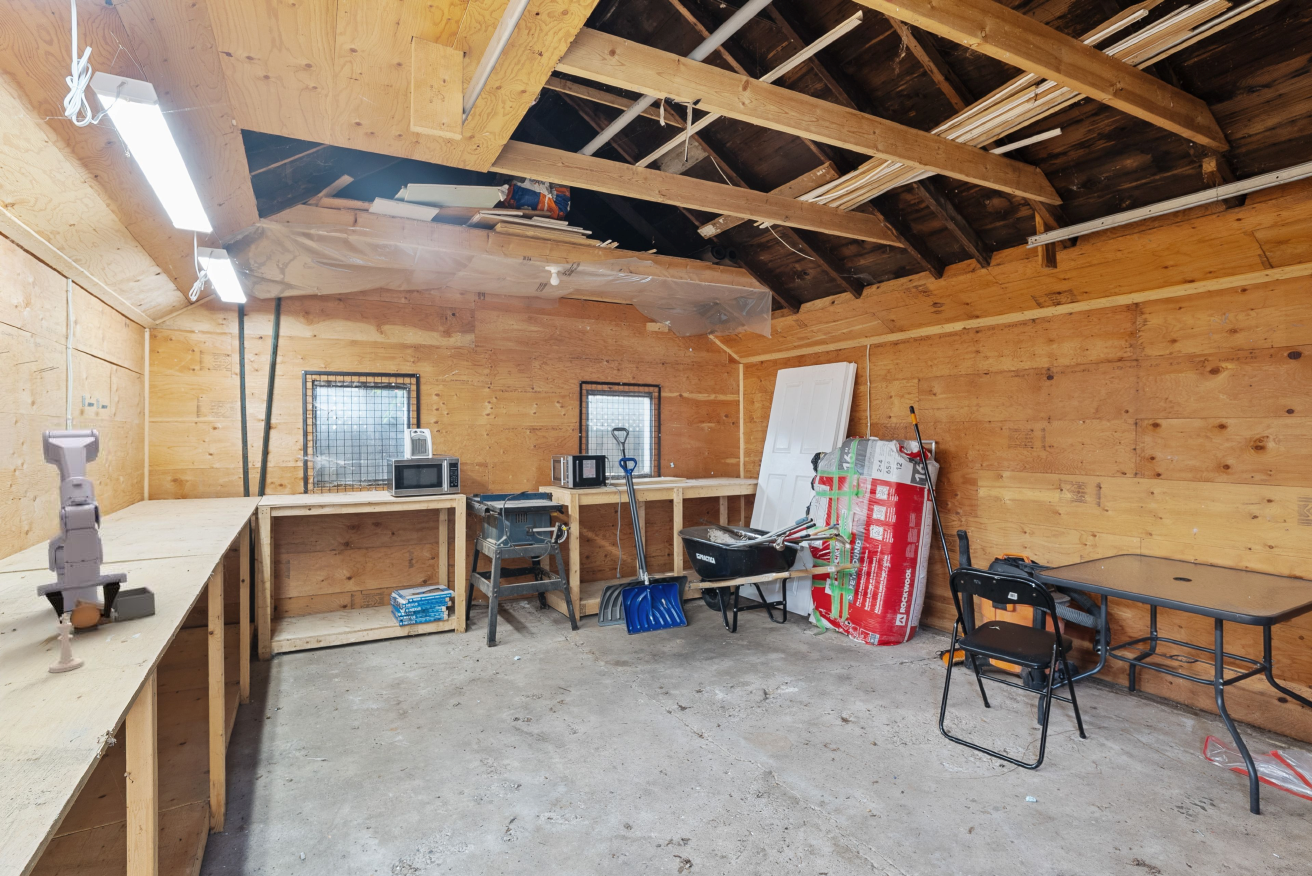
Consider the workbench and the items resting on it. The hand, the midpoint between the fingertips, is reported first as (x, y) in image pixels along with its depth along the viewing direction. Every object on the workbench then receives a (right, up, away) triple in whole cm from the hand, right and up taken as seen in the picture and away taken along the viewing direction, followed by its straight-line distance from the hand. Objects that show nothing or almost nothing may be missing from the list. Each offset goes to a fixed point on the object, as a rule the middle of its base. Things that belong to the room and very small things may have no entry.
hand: (85, 621), depth 141 cm
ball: (0, +1, 0) cm, 1 cm away
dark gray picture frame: (0, -2, 0) cm, 2 cm away
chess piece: (+15, -3, -21) cm, 26 cm away
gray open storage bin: (+1, -1, +11) cm, 11 cm away
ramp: (-3, -2, +6) cm, 7 cm away
